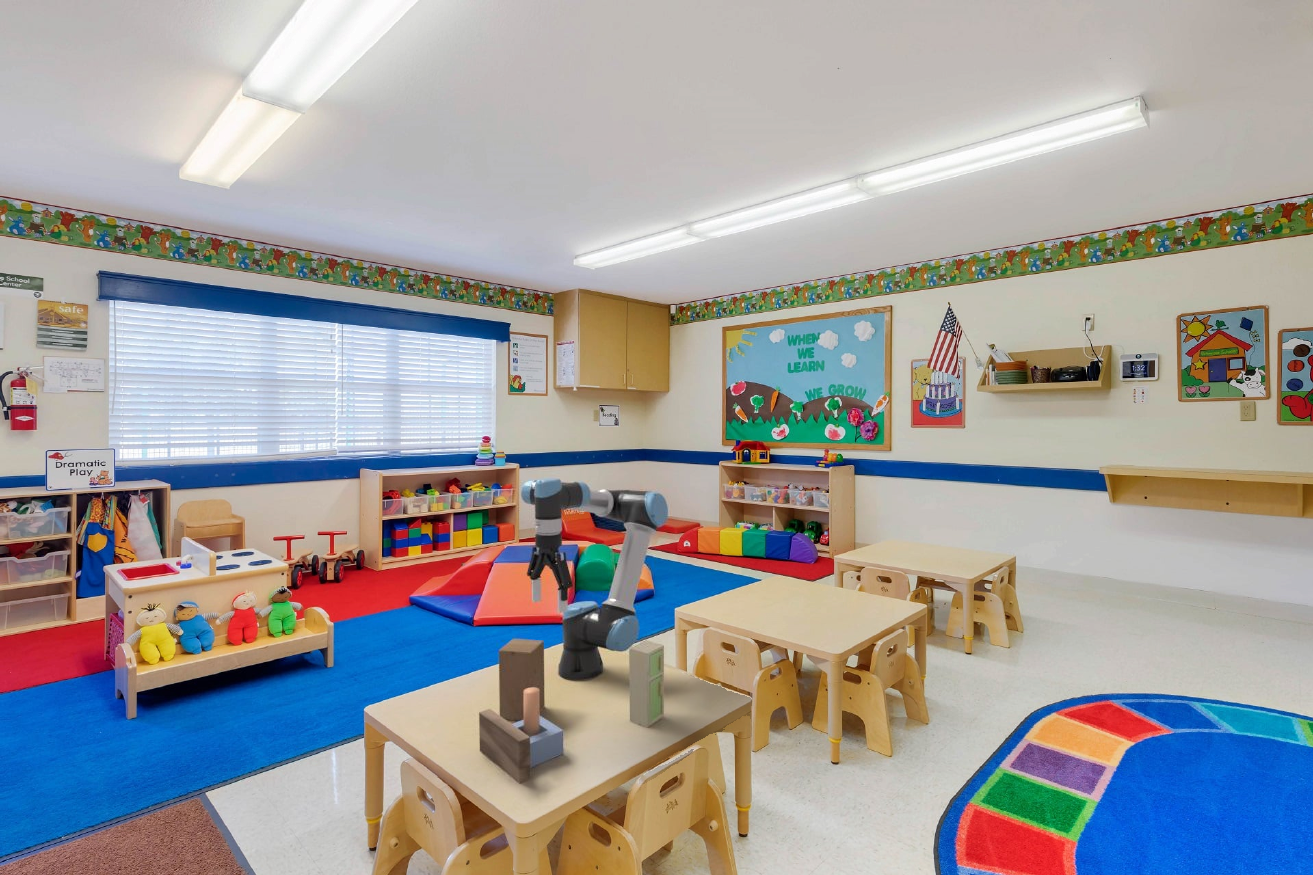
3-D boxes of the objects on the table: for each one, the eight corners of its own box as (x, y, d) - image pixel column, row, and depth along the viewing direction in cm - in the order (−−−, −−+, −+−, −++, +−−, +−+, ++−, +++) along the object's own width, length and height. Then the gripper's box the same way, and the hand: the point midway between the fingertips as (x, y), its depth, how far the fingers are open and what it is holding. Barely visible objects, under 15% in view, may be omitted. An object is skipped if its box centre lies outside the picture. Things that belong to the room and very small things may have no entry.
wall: (490, 746, 165) (489, 708, 164) (530, 778, 150) (530, 736, 150) (479, 750, 163) (479, 712, 162) (519, 783, 148) (518, 741, 148)
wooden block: (531, 722, 178) (531, 652, 177) (499, 719, 180) (498, 649, 179) (545, 706, 187) (544, 640, 187) (513, 703, 189) (513, 637, 189)
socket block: (538, 736, 170) (538, 714, 170) (563, 753, 161) (563, 730, 161) (497, 752, 162) (497, 729, 161) (521, 771, 153) (521, 746, 153)
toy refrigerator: (649, 728, 174) (649, 653, 173) (629, 721, 178) (628, 647, 177) (666, 717, 180) (666, 645, 179) (646, 710, 184) (646, 639, 184)
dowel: (534, 738, 164) (534, 685, 164) (542, 744, 161) (542, 690, 161) (520, 744, 162) (520, 690, 161) (528, 750, 159) (528, 695, 158)
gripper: (514, 529, 187) (515, 599, 187) (562, 540, 168) (562, 619, 169) (536, 526, 192) (537, 595, 193) (584, 537, 173) (585, 613, 174)
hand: (549, 606), depth 181 cm, fingers open, 13 cm apart
